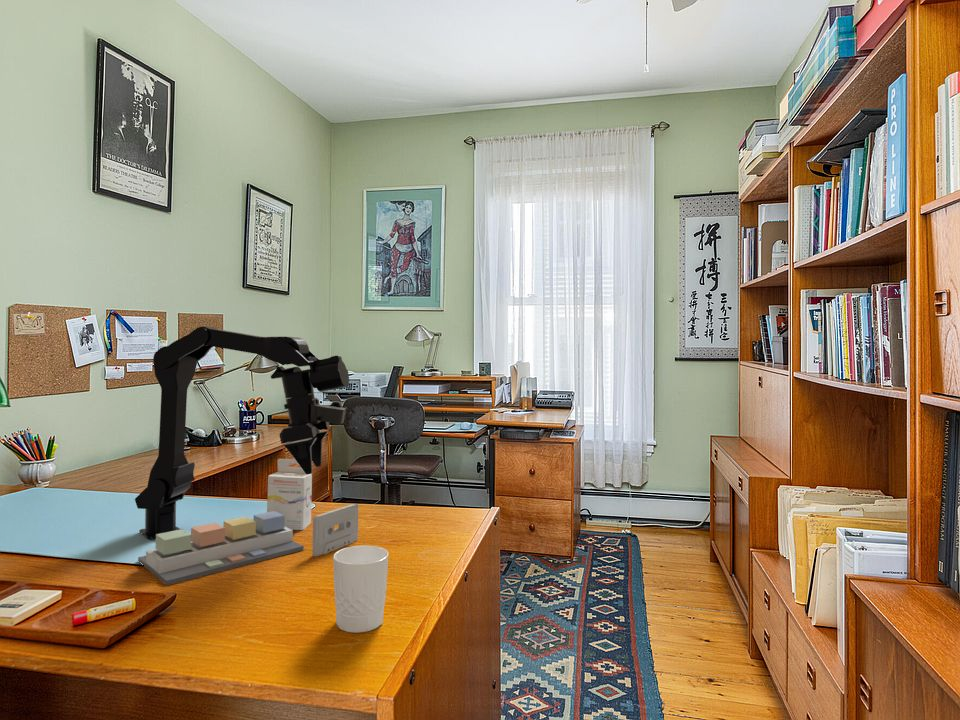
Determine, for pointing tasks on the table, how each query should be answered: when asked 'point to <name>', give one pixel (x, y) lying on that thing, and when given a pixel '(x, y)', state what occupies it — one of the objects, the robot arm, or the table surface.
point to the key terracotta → (207, 534)
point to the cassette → (334, 539)
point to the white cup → (360, 587)
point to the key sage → (173, 541)
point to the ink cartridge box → (290, 494)
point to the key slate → (269, 521)
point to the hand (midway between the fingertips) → (314, 470)
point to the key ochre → (240, 527)
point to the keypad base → (219, 555)
